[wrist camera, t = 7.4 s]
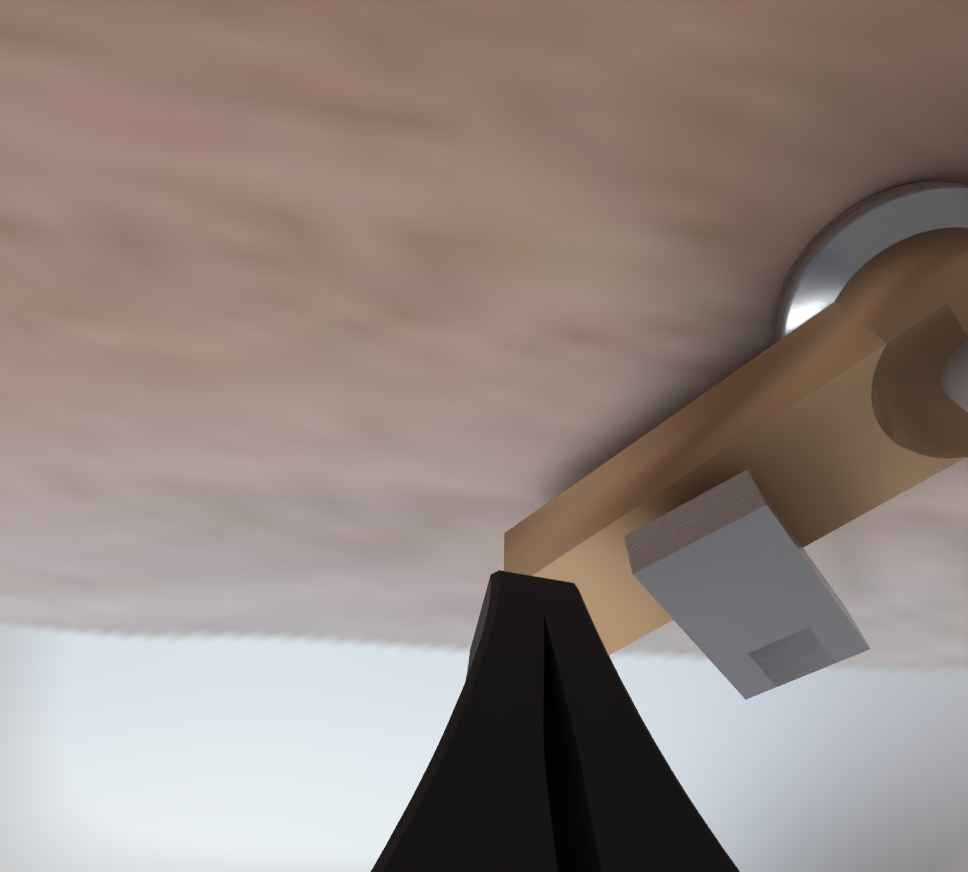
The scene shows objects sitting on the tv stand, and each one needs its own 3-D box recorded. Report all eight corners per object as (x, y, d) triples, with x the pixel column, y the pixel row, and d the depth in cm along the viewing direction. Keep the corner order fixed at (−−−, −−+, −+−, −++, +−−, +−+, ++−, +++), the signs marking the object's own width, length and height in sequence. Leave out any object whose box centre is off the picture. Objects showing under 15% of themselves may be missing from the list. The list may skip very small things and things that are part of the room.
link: (977, 182, 11) (1172, 239, 8) (1055, 327, 12) (1251, 428, 9) (496, 525, 15) (491, 655, 12) (591, 607, 17) (610, 743, 13)
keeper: (696, 378, 14) (766, 504, 10) (781, 499, 16) (870, 648, 12) (601, 436, 15) (632, 574, 11) (690, 545, 17) (746, 699, 13)
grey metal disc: (737, 271, 13) (748, 282, 12) (994, 126, 11) (1022, 130, 11) (818, 442, 15) (830, 458, 14) (1047, 337, 13) (1071, 350, 13)
